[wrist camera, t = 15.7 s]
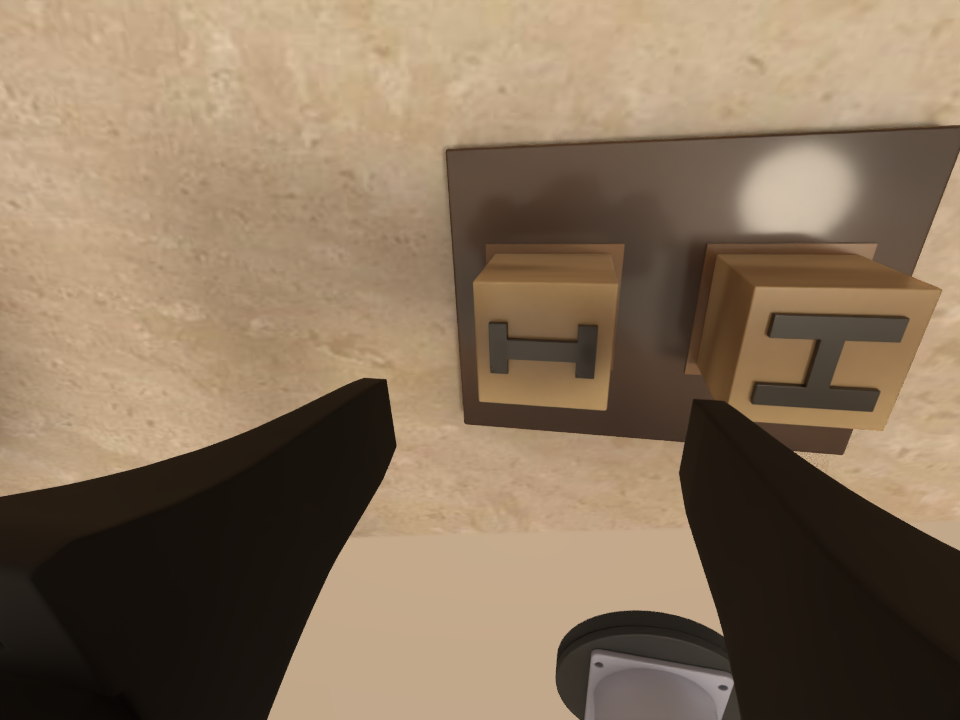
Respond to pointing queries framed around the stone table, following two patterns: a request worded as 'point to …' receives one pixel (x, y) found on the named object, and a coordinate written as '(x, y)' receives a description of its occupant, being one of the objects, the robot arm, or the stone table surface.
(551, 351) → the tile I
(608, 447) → the stone table surface
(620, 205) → the word board
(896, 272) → the tile
